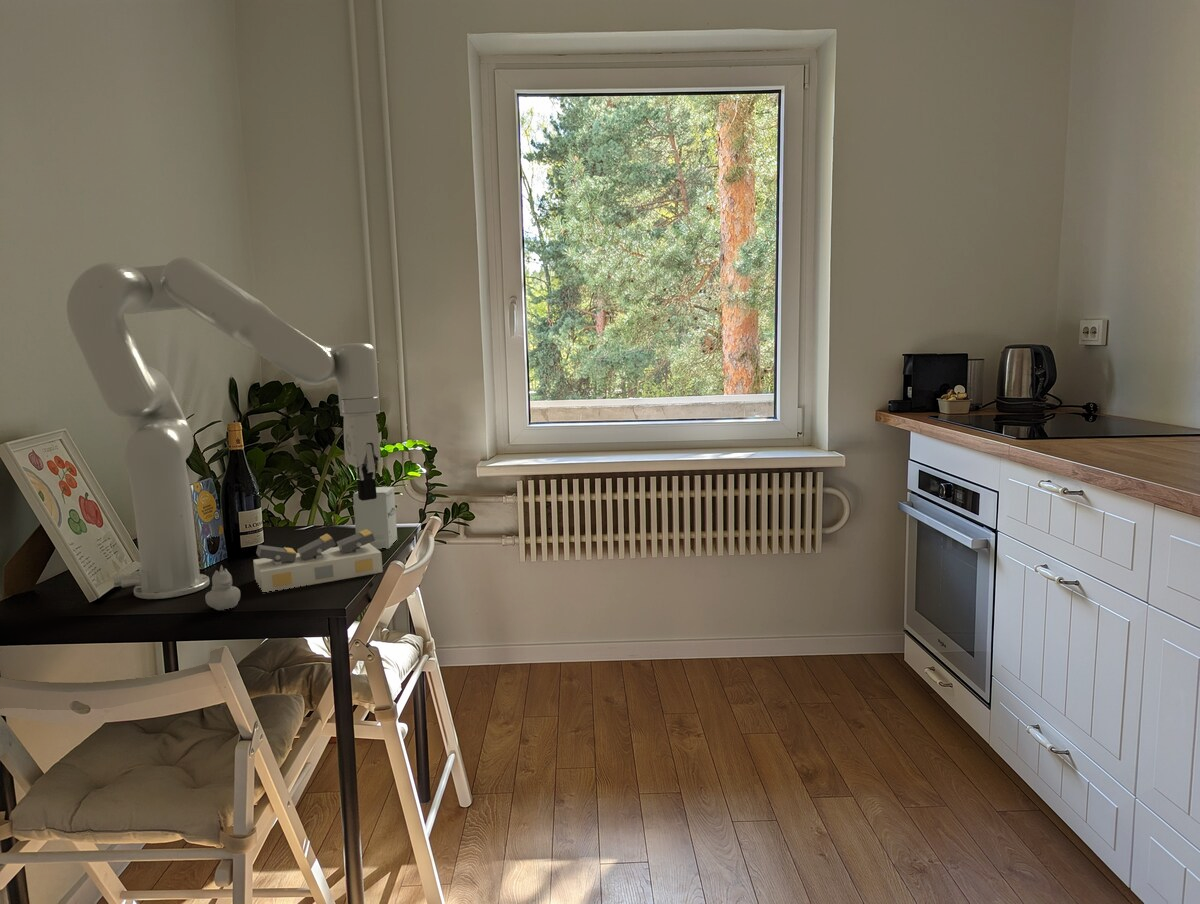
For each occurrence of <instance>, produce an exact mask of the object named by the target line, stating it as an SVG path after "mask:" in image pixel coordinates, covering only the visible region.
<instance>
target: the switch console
mask: <svg viewBox="0 0 1200 904" xmlns="http://www.w3.org/2000/svg"><path fill="white" fill-rule="evenodd" d="M296 554H297V555H296V559H295V562H291V561H283V560H275V559H267V558H256V559H253V562H252V563H253V570H254V571H253V572H254V580H256V581H255V583H256V584H257V583H258V584H257V586H258V585H259V586H258V588H259V589H260V588H261V589H260V591H261V590H262V591H261V592H267V593H270V592H269V591H272V592H276V591H275V590H278V591H282V590H283V589H284V590H288V589H289V588H290V589H295V588H300V586H301V587H306V585H307V586H312V585H318V584H323V583H329V582H335V581H340V580H346V579H352V578H357V577H364V576H369V575H370V576H371V575H375V574H380V573H383V571H384V570H383V558H382V556H383V555H382V552H381V551H380V549H376V548H375V547H374V546H372V545H371V544H370V543H368V544H366V545H363V546H361V547H358V548H356V549H353V550H351V551H348V552H346V553H343V552H342V551H341V550H340V549H339V547H338V546H333V547H331V548H329V549H327V550H325V551H323V552H321V553H319V554H317V555H315V556H313V557H311V558H309V559H307V560H305V561H304V560H303V559H302V558H301V556H300V555H299V553H298V552H296ZM294 587H295V588H294Z"/></svg>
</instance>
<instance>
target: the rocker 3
mask: <svg viewBox="0 0 1200 904" xmlns="http://www.w3.org/2000/svg"><path fill="white" fill-rule="evenodd" d="M373 541H375V539H374V536H373V533H372V532H370V531H369V530H367V529H365V530H362V531H360V532H359V533H357V534H356V533H354V534H353V535H350V536H348V537H344V538H342V539H339V540H338V541H336V544H337V547H339V549H340V550H341V551H342V552H343V553H346V552H348V551H351V550H353V549H356V548H358V547H361V546H363V545H366V544H368V543H370V542H373Z"/></svg>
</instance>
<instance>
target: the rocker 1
mask: <svg viewBox="0 0 1200 904" xmlns="http://www.w3.org/2000/svg"><path fill="white" fill-rule="evenodd" d="M255 553H256V555H257V557H258V559H262V558H267V559H275V560H283V561H291V562H295V559H296V555H297V554H296V553H297V552H296V551H295V550H294V548H293V547H286V546H284V547H278V546H270V545H264V544H257V548H256V552H255Z"/></svg>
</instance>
